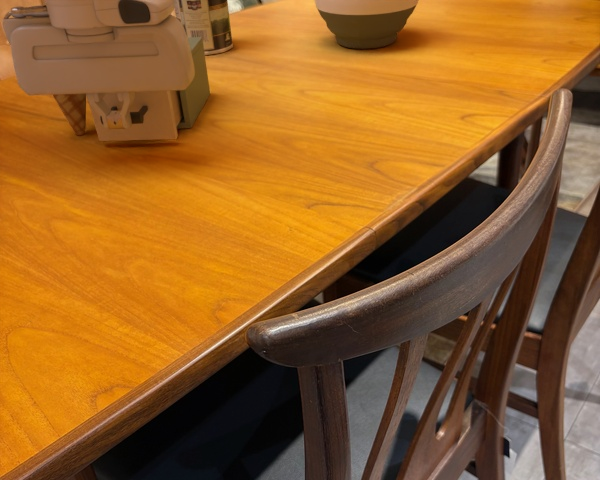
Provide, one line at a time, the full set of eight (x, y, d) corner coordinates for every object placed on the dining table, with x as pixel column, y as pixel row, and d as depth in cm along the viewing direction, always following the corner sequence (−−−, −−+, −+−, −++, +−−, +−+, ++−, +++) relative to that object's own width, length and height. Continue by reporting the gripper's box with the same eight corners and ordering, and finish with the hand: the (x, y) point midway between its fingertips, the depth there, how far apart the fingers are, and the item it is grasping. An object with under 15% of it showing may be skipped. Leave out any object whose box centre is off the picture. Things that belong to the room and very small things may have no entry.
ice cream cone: (56, 129, 88) (22, 17, 79) (100, 120, 90) (71, 10, 81) (61, 144, 83) (25, 26, 74) (107, 135, 85) (78, 19, 76)
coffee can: (225, 39, 125) (216, -39, 117) (239, 50, 117) (230, -32, 109) (176, 46, 122) (162, -33, 114) (186, 58, 115) (173, -26, 106)
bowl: (390, 25, 127) (392, -27, 121) (436, 46, 112) (441, -11, 106) (301, 37, 122) (299, -15, 117) (336, 62, 107) (335, 2, 102)
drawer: (168, 152, 77) (157, 98, 73) (88, 154, 78) (73, 100, 74) (196, 104, 91) (189, 56, 87) (128, 106, 92) (118, 59, 88)
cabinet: (191, 128, 85) (180, 64, 80) (110, 130, 86) (95, 68, 81) (210, 94, 97) (202, 36, 92) (139, 96, 98) (127, 39, 93)
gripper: (-17, 14, 64) (25, 139, 73) (173, 5, 63) (194, 135, 71) (10, 1, 69) (47, 120, 78) (186, -7, 68) (205, 115, 76)
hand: (118, 127), depth 74 cm, fingers closed
